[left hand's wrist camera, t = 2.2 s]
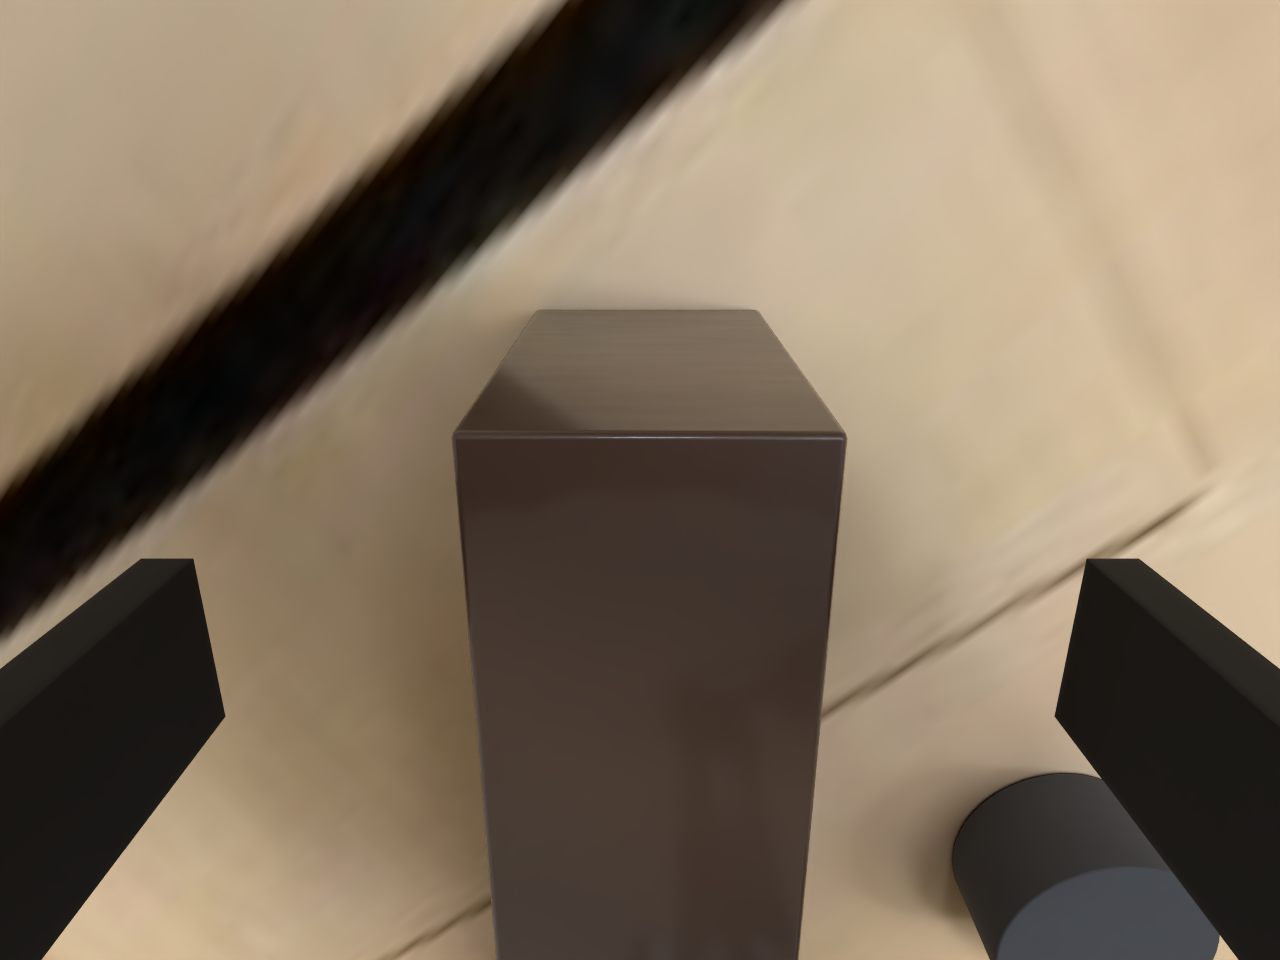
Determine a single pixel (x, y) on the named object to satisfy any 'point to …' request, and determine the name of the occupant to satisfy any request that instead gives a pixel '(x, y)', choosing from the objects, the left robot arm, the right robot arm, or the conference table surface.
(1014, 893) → the puck
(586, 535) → the bar
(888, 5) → the conference table surface
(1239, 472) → the conference table surface
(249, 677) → the conference table surface
